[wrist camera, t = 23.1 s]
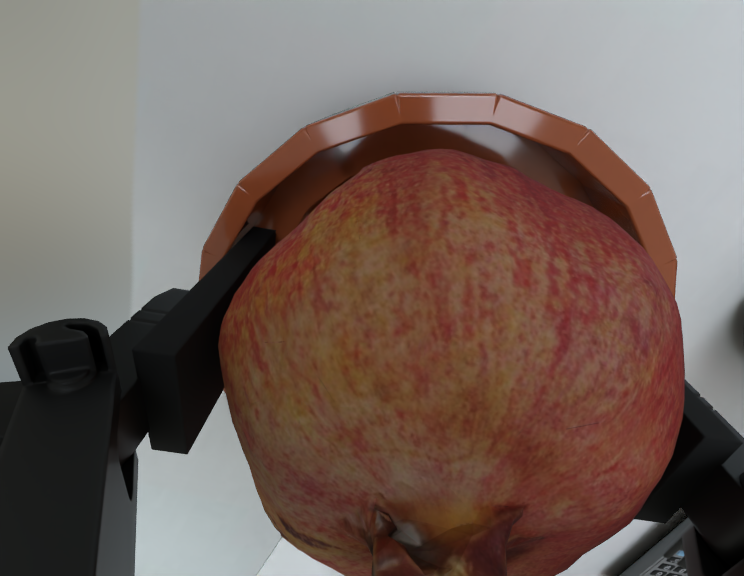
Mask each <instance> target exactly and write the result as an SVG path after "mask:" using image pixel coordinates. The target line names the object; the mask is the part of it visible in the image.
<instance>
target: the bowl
mask: <svg viewBox="0 0 744 576" xmlns="http://www.w3.org/2000/svg"><path fill="white" fill-rule="evenodd" d="M430 149H454V150H457V151H461V152H464V153H467V154H471V155H474V156H476V157H479V158H482V159H485V160H489V161H492V162H496V163H499V164H503V165H506V166H510V167H513V168H515V169H517V170H519V171H520V172H522V173H523V174H525V175H526V176H527V177H529V178H531V179H533V180H536V181H538V182H540V183H542V184H543V185H545V186H547V187H548V188H550V189H552V190H555V191H557V192H559V193H561V194H563V195H565V196H568V197H571V198H574V199H576V200H578V201H580V202H582V203H585V204H587V205H589V206H591V207H593V208H595V209H596V210H598V211H599V212H601V213H602V214H604V215H606V216H608V217H609V218H610V219H612V220H613V221H614V222H615V223H617V224H618V225H619V226H620V227H621V228H622V229H623V230H625V231H626V232H627V233H628V234H629V235H630V236H631V237H632V238H633V239H634V240H635V241H637V242H638V243H639V244H640V245H641V246H642V247H643V248H644V249H645V251H646V252H647V253H648V254H649V256H650V257H651V258H652V259H653V261H654V263H655V264H656V266H657V268H658V270H659V271H660V273H661V275H662V276H663V278H664V280H665V282H666V283H667V285H668V287H669V288H670V290H671V292H672V294H673V296H674V298H675V287H676V272H677V260H676V258H677V256H676V254H675V251H674V248H673V246H672V243H671V241H670V238H669V235H668V233H667V230H666V227H665V225H664V222H663V219H662V217H661V214H660V212H659V209H658V206H657V204H656V201H655V198H654V196H653V193H652V190H650V187H649V186H648V185H647V184H646V183H645V182H644V181H643V180H642V179H641V178H640V177H639V176H638V175H637V174H636V173H635V172H634V171H633V170H632V169H631V168H630V167H629V166H628V165H627V164H626V163H625V162H624V161H623V160H622V159H621V158H620V157H619V156H618V155H617V154H616V153H615V152H614V151H613V150H611V149H610V148H609V147H608V146H607V145H606V144H605V143H604V142H603V141H602V140H601V139H600V138H599V137H598V136H597V135H596V134H595V133H594V132H593V131H592V130H591V129H587V128H586V127H585V126H583V125H580V124H578V123H575V122H572V121H570V120H567V119H565V118H562V117H559V116H557V115H554V114H552V113H549V112H546V111H544V110H541V109H539V108H536V107H534V106H531V105H528V104H526V103H523V102H521V101H518V100H515V99H513V98H510V97H508V96H505V95H502V94H496V93H478V92H396V93H395V92H393V93H390V94H387V95H385V96H382V97H379V98H376V99H374V100H371V101H368V102H365V103H363V104H360V105H357V106H354V107H352V108H349V109H346V110H343V111H341V112H338V113H335V114H332V115H330V116H328V117H325V118H323V119H321V120H318V121H316V122H314V123H311V124H309V125H307V126H306V127H303V128H302V129H300V130H299V131H298V132H297V133H296V134H294V135H293V136H292V137H291V138H290V139H289V140H287V141H286V142H285V143H284V144H283V145H281V146H280V147H279V148H278V149H277V150H276V151H274V152H273V153H272V154H271V155H270V156H268V157H267V158H266V159H265V160H264V161H263V162H261V163H260V164H259V165H258V166H257V167H255V168H254V169H253V170H252V171H251V172H250V173H248V174H247V175H246V176H245V177H244V178H242V179H241V180H240V181H239V184H237V185H236V187H235V189H234V190H233V192H232V194H231V196H230V198H229V200H228V202H227V203H226V205H225V207H224V209H223V211H222V213H221V215H220V216H219V218H218V220H217V222H216V224H215V226H214V228H213V229H212V231H211V233H210V235H209V237H208V239H207V241H206V242H205V244H204V246H203V250H202V256H201V265H200V275H199V281H200V280H201V279H202V278H203V277H204V276H205V275H206V274H207V273H208V272H209V271H210V270H211V269H212V268H213V267H214V266H215V265H216V264H217V263H218V262H219V261H220V260H221V259H222V258H223V257H224V256H225V255H226V254H227V253H228V252H229V251H230V250H231V249H232V248H233V247H234V245H235V244H236V243H237V242H238V241H239V240H240V239H241V238H242V237H243V236H244V235H245V234H246V233H247V232H248V231H249V230H250V229H251V228H252V227H253V226H254V227H260V228H266V229H272V230H276V244H277V243H278V242H279V241H281V240H282V239H284V238H285V237H286V236H287V235H288V234H290V233H291V232H292V231H293V230H294V229H295V228H296V227H297V226H298V225H299V224H300V223H302V222H303V221H304V219H305V218H306V217H307V216H308V215H309V214H310V213H311V212H312V211H313V210H314V209H315V208H316V207H317V206H318V205H319V204H320V203H321V202H322V201H323V200H324V199H325V198H326V197H327V196H328V195H329V194H330V193H331V192H332V191H334V190H335V189H336V188H338V187H340V186H342V185H343V184H344V183H345V182H347V181H348V180H349V179H351V178H352V177H354V176H355V175H356V174H358V173H359V172H360V171H361V169H362V168H364V167H366V166H368V165H370V164H372V163H375V162H377V161H380V160H383V159H386V158H389V157H393V156H396V155H404V154H409V153H414V152H418V151H422V150H430ZM276 244H275V245H276ZM223 390H224V392H225V388H224V389H223ZM225 393H226V392H225Z"/></svg>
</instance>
